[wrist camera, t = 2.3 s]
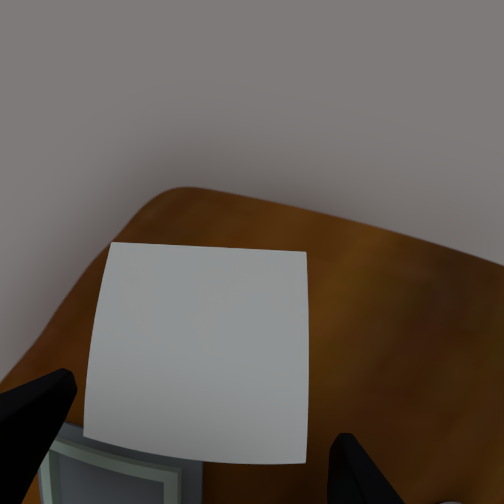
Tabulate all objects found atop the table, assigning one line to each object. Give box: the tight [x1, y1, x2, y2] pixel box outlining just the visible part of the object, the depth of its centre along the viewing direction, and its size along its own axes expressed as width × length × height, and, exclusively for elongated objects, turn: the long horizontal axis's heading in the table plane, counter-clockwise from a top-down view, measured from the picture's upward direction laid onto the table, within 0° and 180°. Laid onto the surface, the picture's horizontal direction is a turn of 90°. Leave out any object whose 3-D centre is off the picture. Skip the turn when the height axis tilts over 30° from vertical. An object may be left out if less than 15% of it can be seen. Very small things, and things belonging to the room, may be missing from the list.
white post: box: [83, 242, 309, 464], centre depth 12 cm, size 5×5×12 cm
